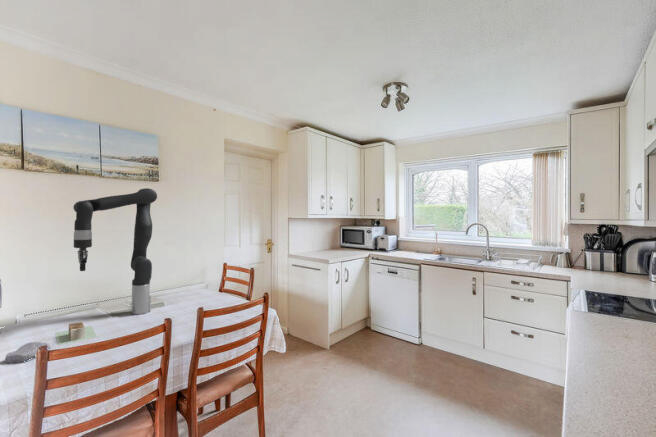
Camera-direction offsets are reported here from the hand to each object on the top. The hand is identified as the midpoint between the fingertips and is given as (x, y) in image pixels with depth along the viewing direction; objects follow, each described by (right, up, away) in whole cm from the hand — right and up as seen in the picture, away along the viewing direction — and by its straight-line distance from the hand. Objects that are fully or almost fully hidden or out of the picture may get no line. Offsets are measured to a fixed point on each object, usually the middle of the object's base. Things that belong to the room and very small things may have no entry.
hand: (82, 270), depth 160 cm
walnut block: (+7, -26, -12) cm, 30 cm away
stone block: (+6, -30, -34) cm, 46 cm away
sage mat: (+8, -30, -14) cm, 34 cm away
